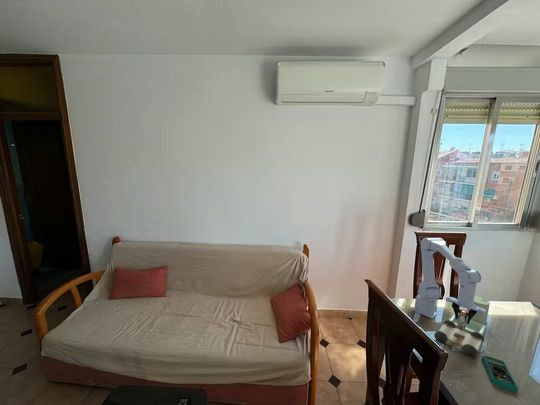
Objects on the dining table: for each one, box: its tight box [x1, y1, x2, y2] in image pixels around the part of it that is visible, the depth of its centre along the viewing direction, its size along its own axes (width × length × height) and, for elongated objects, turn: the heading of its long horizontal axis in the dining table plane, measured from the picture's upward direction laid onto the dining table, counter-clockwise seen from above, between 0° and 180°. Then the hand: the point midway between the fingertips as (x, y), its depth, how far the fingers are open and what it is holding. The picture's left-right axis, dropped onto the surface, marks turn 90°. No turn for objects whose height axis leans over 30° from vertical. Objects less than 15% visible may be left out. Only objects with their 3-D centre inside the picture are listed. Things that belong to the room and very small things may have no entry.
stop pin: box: [457, 308, 468, 330], centre depth 114 cm, size 4×4×9 cm
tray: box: [449, 313, 487, 336], centre depth 123 cm, size 13×11×4 cm
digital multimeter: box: [481, 355, 519, 393], centre depth 97 cm, size 7×15×3 cm, turn 151°
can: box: [465, 295, 491, 325], centre depth 132 cm, size 9×9×12 cm
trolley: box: [433, 319, 485, 359], centre depth 114 cm, size 16×15×5 cm
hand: (462, 320), depth 114 cm, fingers closed on stop pin, 4 cm apart
